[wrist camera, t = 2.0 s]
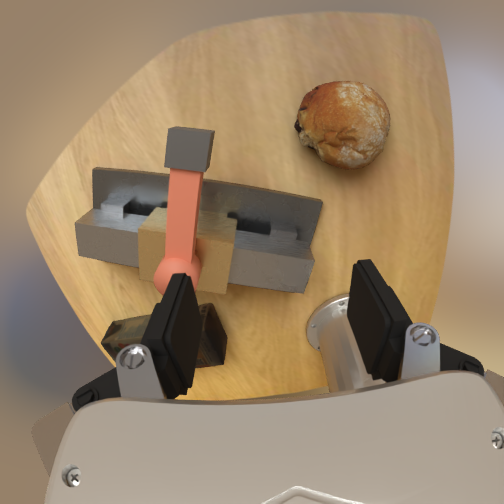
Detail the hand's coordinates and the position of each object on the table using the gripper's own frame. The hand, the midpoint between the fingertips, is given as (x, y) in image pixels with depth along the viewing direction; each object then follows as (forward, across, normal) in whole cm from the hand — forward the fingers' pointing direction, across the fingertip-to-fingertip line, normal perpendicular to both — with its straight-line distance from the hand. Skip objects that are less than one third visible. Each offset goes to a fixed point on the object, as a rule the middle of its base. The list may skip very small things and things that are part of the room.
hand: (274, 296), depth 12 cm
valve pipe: (+22, +8, +6) cm, 24 cm away
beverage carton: (+22, +17, +23) cm, 36 cm away
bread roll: (+22, -9, -6) cm, 25 cm away
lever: (+13, +7, +1) cm, 15 cm away
